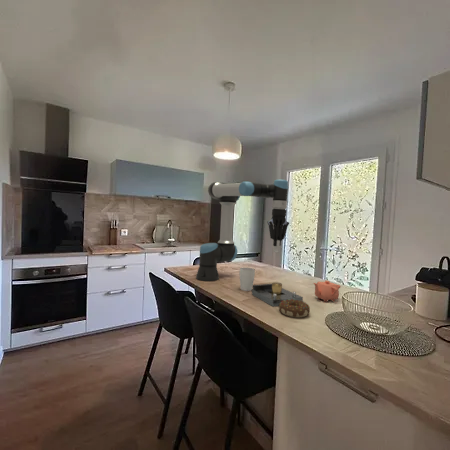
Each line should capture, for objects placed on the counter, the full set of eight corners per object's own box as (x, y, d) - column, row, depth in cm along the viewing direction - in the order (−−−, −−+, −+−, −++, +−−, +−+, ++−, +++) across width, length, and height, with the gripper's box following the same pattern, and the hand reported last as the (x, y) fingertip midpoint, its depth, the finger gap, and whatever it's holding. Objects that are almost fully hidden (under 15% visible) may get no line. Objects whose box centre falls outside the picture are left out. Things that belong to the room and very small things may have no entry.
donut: (316, 315, 119) (316, 304, 119) (294, 321, 112) (295, 309, 111) (292, 306, 131) (292, 295, 131) (271, 310, 124) (271, 299, 123)
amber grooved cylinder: (269, 297, 142) (270, 283, 141) (277, 297, 144) (278, 282, 144) (274, 300, 137) (275, 285, 137) (283, 300, 139) (283, 284, 139)
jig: (251, 294, 146) (252, 284, 146) (279, 291, 154) (279, 282, 154) (272, 306, 128) (273, 295, 128) (302, 303, 136) (303, 292, 135)
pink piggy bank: (317, 294, 153) (318, 276, 152) (340, 298, 147) (341, 280, 146) (311, 300, 141) (312, 281, 140) (335, 305, 134) (337, 285, 134)
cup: (253, 292, 151) (254, 271, 150) (237, 290, 153) (238, 269, 152) (254, 288, 160) (255, 268, 159) (239, 286, 162) (240, 267, 161)
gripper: (273, 208, 138) (270, 253, 139) (293, 209, 143) (290, 253, 144) (265, 208, 145) (262, 251, 146) (285, 209, 150) (282, 250, 151)
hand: (276, 252), depth 145 cm, fingers closed
